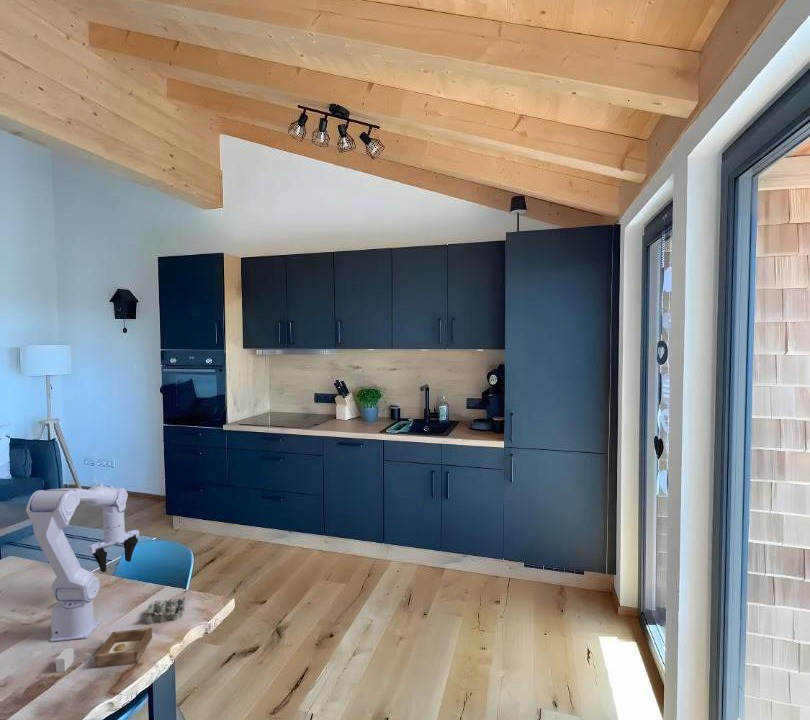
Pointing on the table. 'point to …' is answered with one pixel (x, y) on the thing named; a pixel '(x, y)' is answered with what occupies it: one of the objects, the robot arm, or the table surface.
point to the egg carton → (161, 607)
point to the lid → (64, 660)
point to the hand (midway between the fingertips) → (115, 565)
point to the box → (123, 648)
